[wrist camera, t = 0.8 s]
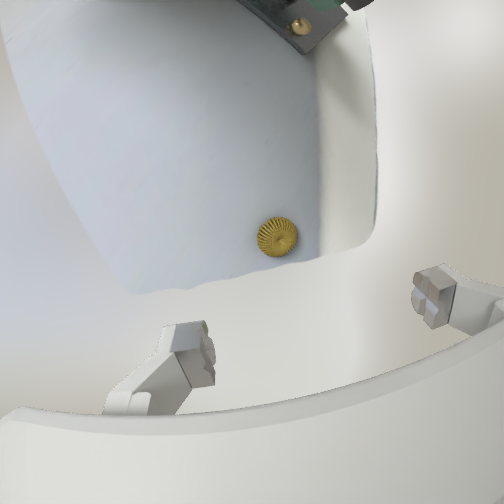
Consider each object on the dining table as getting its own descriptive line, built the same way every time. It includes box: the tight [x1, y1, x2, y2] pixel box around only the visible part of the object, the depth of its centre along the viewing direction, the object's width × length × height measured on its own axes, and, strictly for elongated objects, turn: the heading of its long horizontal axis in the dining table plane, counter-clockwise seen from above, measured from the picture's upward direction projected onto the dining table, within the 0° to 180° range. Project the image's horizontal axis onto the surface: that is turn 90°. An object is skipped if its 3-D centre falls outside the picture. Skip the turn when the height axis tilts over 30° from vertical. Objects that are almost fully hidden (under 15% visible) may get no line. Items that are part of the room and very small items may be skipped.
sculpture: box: [257, 217, 297, 257], centre depth 56 cm, size 8×4×8 cm
